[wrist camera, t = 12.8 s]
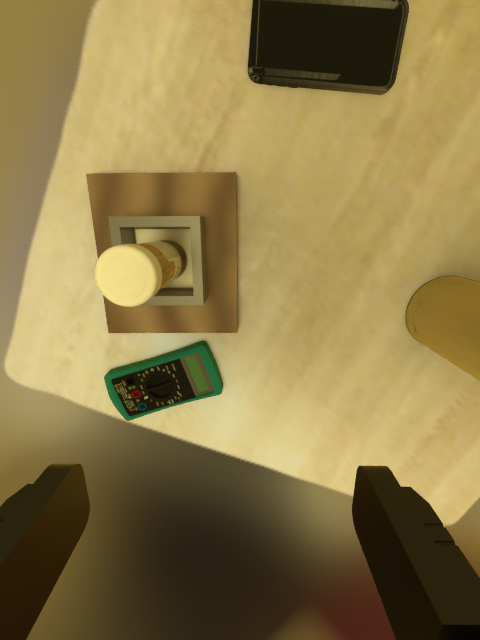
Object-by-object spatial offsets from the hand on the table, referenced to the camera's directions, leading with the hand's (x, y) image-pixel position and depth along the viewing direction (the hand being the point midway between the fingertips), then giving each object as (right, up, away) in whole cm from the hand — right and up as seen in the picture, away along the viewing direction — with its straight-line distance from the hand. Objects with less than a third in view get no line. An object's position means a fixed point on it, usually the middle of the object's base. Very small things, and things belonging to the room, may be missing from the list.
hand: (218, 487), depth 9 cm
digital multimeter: (-9, -3, +33) cm, 35 cm away
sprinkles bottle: (-8, +12, +26) cm, 29 cm away
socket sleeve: (-8, +12, +26) cm, 29 cm away
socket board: (-8, +13, +28) cm, 31 cm away
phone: (+9, +33, +22) cm, 41 cm away
